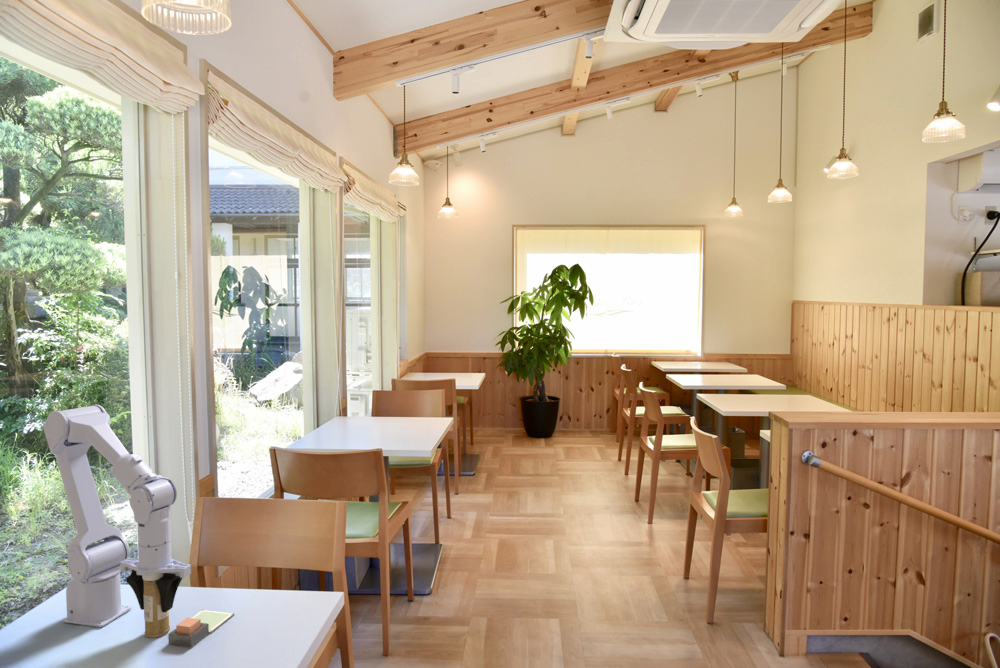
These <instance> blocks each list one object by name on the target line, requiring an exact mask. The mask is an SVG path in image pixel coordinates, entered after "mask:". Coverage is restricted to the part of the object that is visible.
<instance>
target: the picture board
mask: <svg viewBox="0 0 1000 668" xmlns="http://www.w3.org/2000/svg"><path fill="white" fill-rule="evenodd" d="M234 616H235V613H234V612H233V613H232V612H225V611H214V610H205V609H201V610H200V611H199V612H197V613H196V614H195V615H194V616H192V617H191V618H194V619H201V623H207V624H209V635H211V634H213V633H214V632H215V631H217V630H218V629H219V628H220V627H222V626H223V625H224V624H226V623H227V622H228V621H229V620H231V618H233V617H234Z"/></svg>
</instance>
